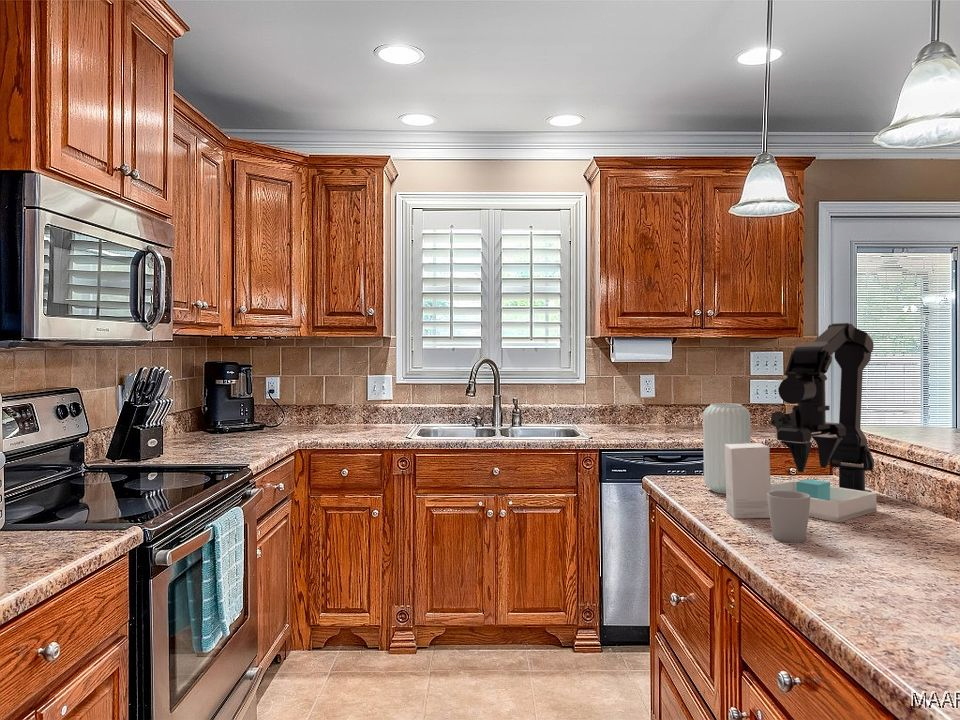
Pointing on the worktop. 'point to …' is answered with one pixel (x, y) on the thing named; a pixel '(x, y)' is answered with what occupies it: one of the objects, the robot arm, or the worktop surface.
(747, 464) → the skincare box
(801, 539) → the cup
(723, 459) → the vase
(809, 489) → the teal block
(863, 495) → the grey tray
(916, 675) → the worktop surface
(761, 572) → the worktop surface
